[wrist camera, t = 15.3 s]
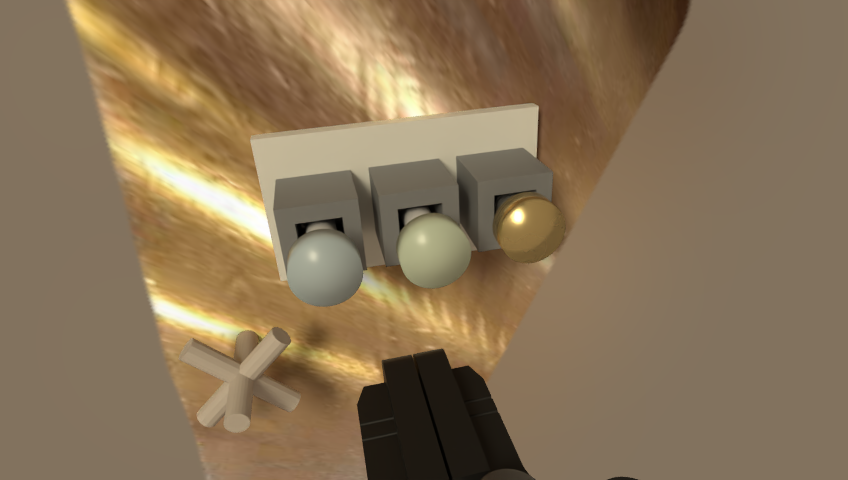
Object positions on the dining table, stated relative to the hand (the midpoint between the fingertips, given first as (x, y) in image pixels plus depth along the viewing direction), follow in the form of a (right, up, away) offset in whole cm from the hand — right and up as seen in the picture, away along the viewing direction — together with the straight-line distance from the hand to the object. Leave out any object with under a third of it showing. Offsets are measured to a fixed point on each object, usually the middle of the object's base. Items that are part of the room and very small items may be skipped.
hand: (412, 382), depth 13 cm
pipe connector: (-15, -5, +35) cm, 38 cm away
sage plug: (-1, +6, +28) cm, 29 cm away
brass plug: (+6, +8, +30) cm, 32 cm away
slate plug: (-8, +5, +27) cm, 29 cm away
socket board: (-1, +8, +31) cm, 32 cm away
